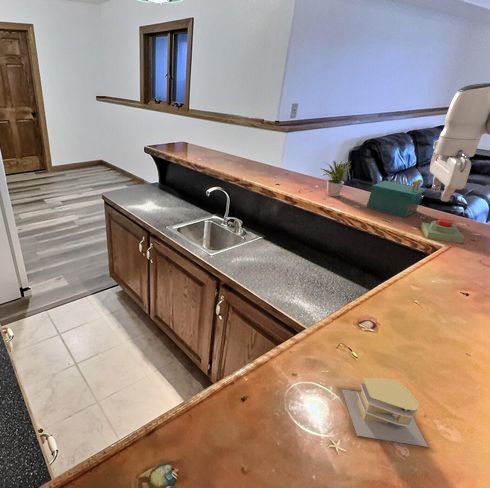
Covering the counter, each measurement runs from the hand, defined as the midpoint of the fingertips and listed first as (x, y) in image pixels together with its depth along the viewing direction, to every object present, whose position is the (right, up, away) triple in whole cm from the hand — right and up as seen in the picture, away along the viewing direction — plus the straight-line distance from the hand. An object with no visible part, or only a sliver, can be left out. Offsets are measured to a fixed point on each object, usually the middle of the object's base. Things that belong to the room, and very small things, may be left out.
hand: (439, 195), depth 103 cm
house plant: (-2, +9, +61) cm, 62 cm away
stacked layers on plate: (-45, -43, -45) cm, 77 cm away
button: (+15, -8, +18) cm, 25 cm away
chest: (+13, 0, +43) cm, 45 cm away
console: (+15, -11, +19) cm, 27 cm away
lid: (+14, +8, +38) cm, 41 cm away
